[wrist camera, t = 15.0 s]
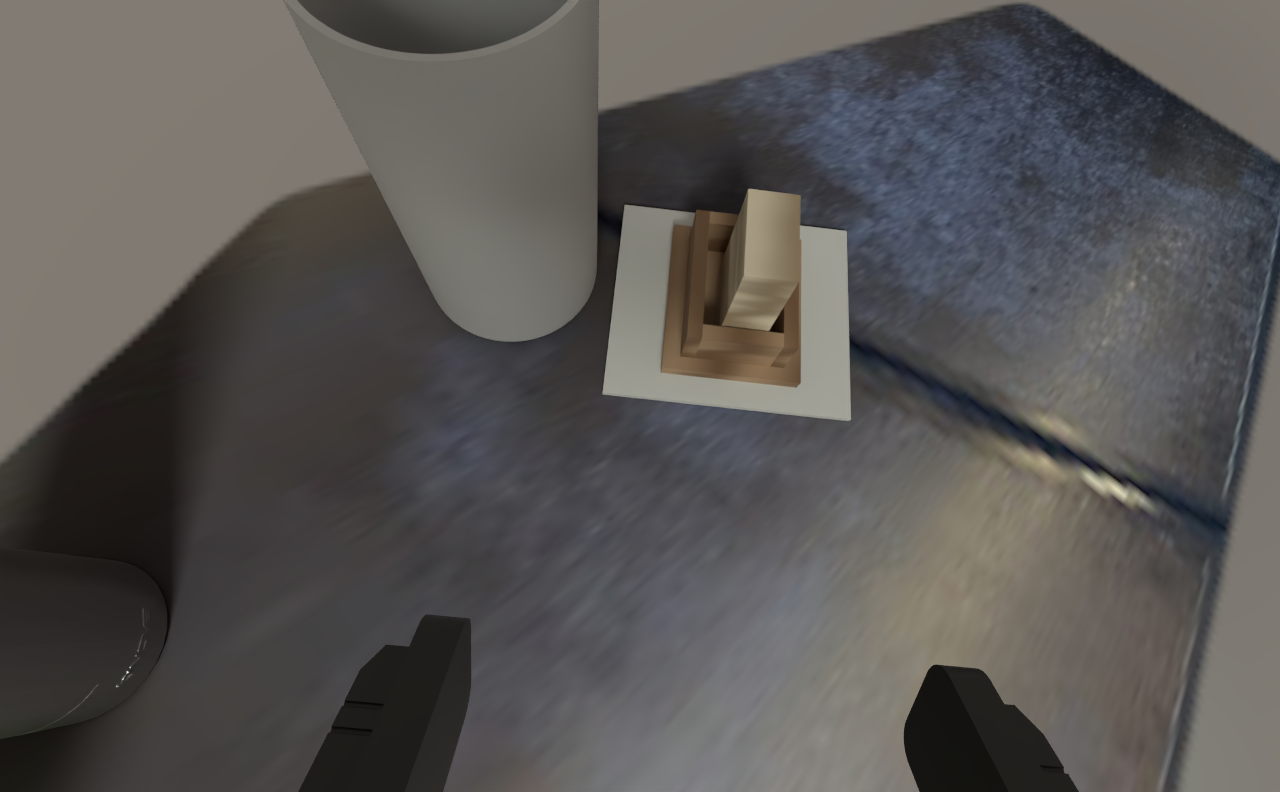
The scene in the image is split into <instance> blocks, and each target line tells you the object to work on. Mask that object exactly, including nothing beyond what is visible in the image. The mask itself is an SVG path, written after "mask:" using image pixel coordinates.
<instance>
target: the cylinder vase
mask: <svg viewBox="0 0 1280 792" xmlns="http://www.w3.org/2000/svg"><path fill="white" fill-rule="evenodd" d="M283 1H284V3H285V5H286V7H287V8H288V10H289V12H290V14H291V16H292V18H293V20H294V22H295V24H296V26H297V28H298V30H299V32H300V34H301V36H302V38H303V40H304V42H305V44H306V46H307V48H308V50H309V52H310V54H311V56H312V57H313V60H314V62H315V63H316V65H317V68H318V70H319V71H320V73H321V75H322V77H323V79H324V81H325V83H326V85H327V87H328V89H329V91H330V93H331V95H332V97H333V99H334V101H335V103H336V105H337V107H338V109H339V111H340V113H341V114H342V117H343V119H344V121H345V123H346V124H347V127H348V129H349V131H350V132H351V134H352V136H353V138H354V140H355V142H356V144H357V146H358V148H359V150H360V152H361V154H362V156H363V158H364V160H365V162H366V164H367V166H368V168H369V170H370V172H371V174H372V176H373V178H374V180H375V182H376V184H377V186H378V188H379V190H380V191H381V193H382V195H383V197H384V199H385V201H386V203H387V205H388V207H389V209H390V211H391V213H392V215H393V217H394V219H395V221H396V223H397V225H398V227H399V229H400V231H401V233H402V235H403V237H404V239H405V241H406V243H407V245H408V247H409V249H410V251H411V252H412V254H413V256H414V258H415V260H416V262H417V264H418V266H419V268H420V270H421V272H422V274H423V276H424V278H425V280H426V282H427V284H428V286H429V288H430V290H431V292H432V294H433V296H434V298H435V300H436V301H437V303H438V305H439V306H440V308H441V309H442V310H443V312H444V313H445V314H446V315H447V316H448V317H449V318H450V319H451V320H452V321H453V322H455V323H456V324H457V325H459V326H460V327H462V328H463V329H465V330H467V331H469V332H470V333H473V334H475V335H477V336H480V337H483V338H487V339H491V340H496V341H505V342H517V341H526V340H531V339H536V338H539V337H542V336H545V335H547V334H550V333H552V332H554V331H556V330H557V329H559V328H561V327H562V326H564V325H565V324H567V323H568V322H569V321H570V320H572V319H573V318H574V317H575V316H576V315H577V314H578V313H579V311H580V310H581V309H582V308H583V306H584V305H585V303H586V302H587V300H588V298H589V296H590V294H591V292H592V290H593V287H594V284H595V280H596V274H597V187H598V22H599V21H598V17H599V15H598V14H599V13H598V12H599V0H283Z"/></svg>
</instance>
